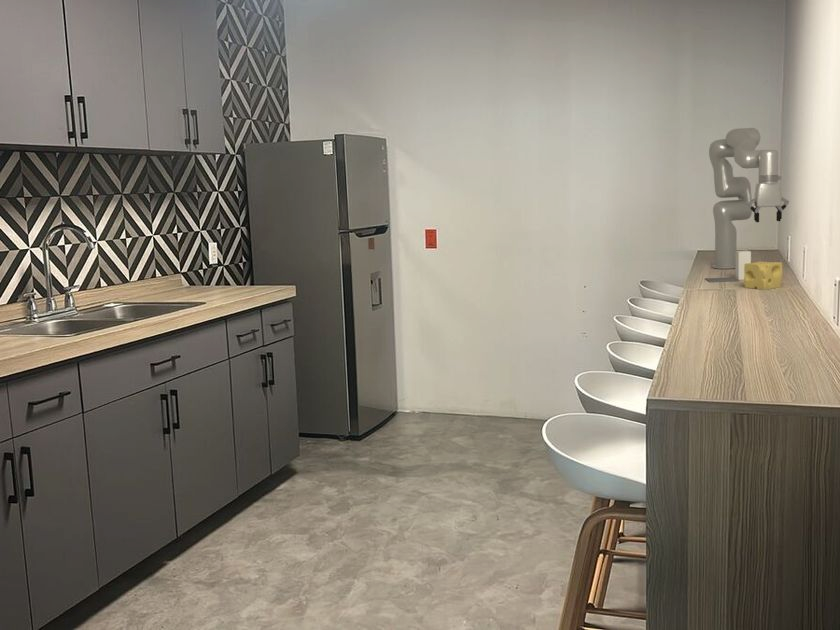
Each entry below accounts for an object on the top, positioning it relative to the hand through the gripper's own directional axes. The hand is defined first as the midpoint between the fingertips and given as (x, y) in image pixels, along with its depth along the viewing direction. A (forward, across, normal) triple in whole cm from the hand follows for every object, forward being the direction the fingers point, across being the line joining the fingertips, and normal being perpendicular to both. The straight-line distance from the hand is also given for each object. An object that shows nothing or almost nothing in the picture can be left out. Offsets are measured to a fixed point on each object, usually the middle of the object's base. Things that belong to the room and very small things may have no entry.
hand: (767, 221), depth 358 cm
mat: (+24, +19, 0) cm, 31 cm away
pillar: (+24, +10, 0) cm, 26 cm away
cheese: (+25, +9, +25) cm, 36 cm away
